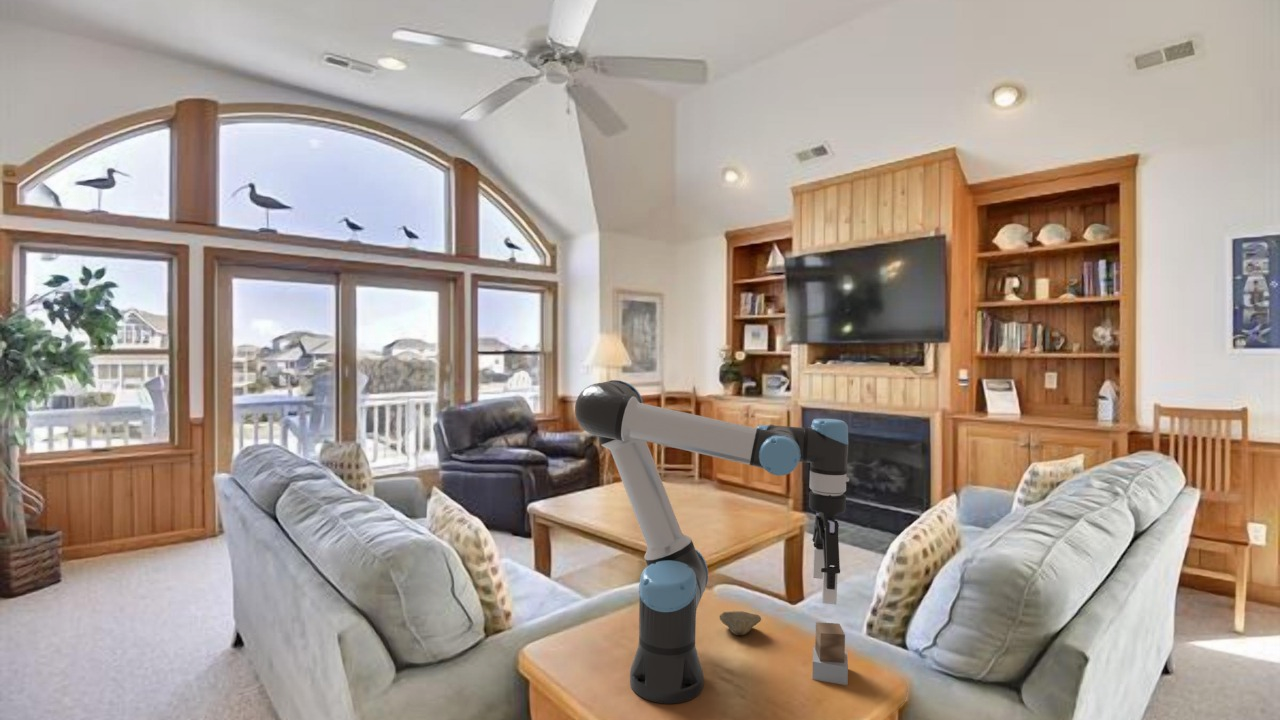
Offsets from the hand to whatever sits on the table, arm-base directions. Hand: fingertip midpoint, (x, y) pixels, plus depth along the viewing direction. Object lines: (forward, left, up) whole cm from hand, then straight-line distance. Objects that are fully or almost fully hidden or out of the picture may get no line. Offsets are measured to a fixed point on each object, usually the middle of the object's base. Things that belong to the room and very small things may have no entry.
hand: (823, 590), depth 128 cm
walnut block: (+1, 0, -14) cm, 14 cm away
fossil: (-17, +15, -18) cm, 29 cm away
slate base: (+2, 0, -18) cm, 18 cm away
